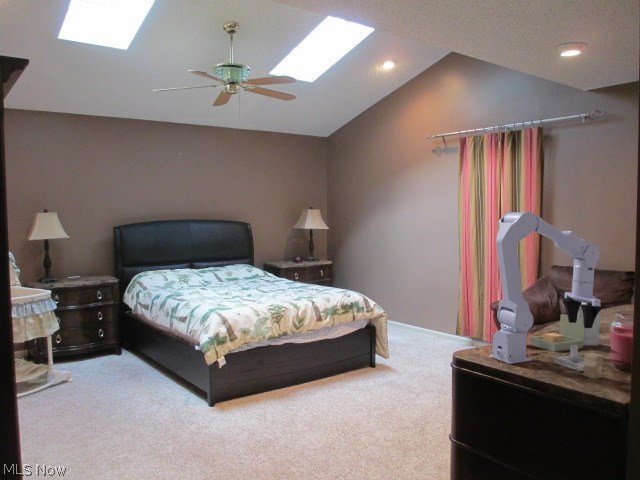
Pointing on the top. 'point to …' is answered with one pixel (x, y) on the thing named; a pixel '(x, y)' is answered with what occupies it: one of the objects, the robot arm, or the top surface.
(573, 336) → the case
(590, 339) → the skincare box
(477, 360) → the top surface
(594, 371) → the beige tall block
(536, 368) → the top surface
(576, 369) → the bracket
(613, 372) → the top surface
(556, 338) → the block
